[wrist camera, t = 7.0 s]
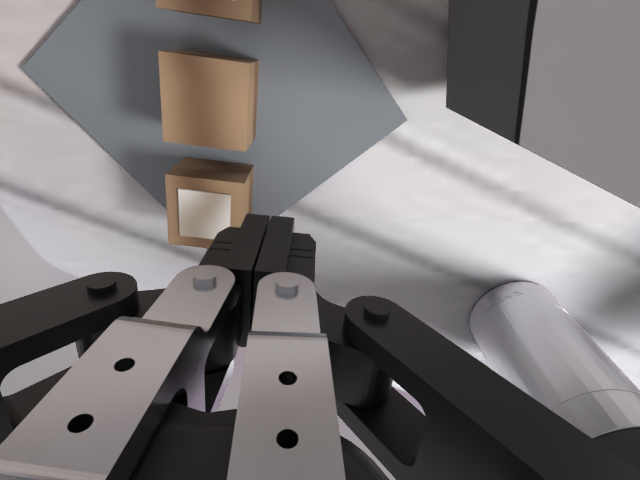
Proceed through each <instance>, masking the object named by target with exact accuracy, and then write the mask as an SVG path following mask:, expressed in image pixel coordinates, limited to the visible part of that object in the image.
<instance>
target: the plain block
mask: <svg viewBox="0 0 640 480" xmlns="http://www.w3.org/2000/svg"><path fill="white" fill-rule="evenodd" d="M158 57H159V75H160V93H161V111H162V129H163V142H171V143H179V144H187V145H195V146H203V147H211V148H219V149H227V150H235V151H243V152H246V151H247V149H248V148H249V146H250V145H251V143H252V141H253V140H254V138H255V135H256V116H257V97H258V77H259V60H255V59H248V58H241V57H234V56H226V55H219V54H212V53H205V52H198V51H191V50H183V49H178V50H163V51H158Z"/></svg>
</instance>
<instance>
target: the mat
mask: <svg viewBox="0 0 640 480" xmlns="http://www.w3.org/2000/svg"><path fill="white" fill-rule="evenodd" d="M178 49H183V50H191V51H198V52H205V53H212V54H219V55H226V56H234V57H241V58H248V59H255V60H259V77H258V97H257V116H256V135H255V138H254V140H253V141H252V143H251V145H250V146H249V148H248V149H247V151H246V152H243V151H235V150H227V149H219V148H211V147H203V146H195V145H187V144H179V143H171V142H163V129H162V111H161V93H160V75H159V57H158V51H163V50H178ZM22 70H23V71H24V72H25V73H26V74H27V75H28V76H29V77H30V78H31V79H32V80H33V81H35V82H36V83H37V84H38V85H39V86H40V87H41V88H42V89H43V90H44V91H45V92H46V93H47V94H48V95H49V96H50V97H51V98H52V99H53V100H54V101H55V102H56V103H57V104H58V105H59V106H60V107H61V108H62V109H63V110H64V111H66V112H67V113H68V114H69V115H70V116H71V117H72V118H73V119H74V120H75V121H76V122H77V123H78V124H79V125H80V126H81V127H82V128H83V129H84V130H85V131H86V132H87V133H88V134H89V135H90V136H91V137H92V138H93V139H94V140H95V141H97V142H98V143H99V144H100V145H101V146H102V147H103V148H104V149H105V150H106V151H107V152H108V153H109V154H110V155H111V156H112V157H113V158H114V159H115V160H116V161H117V162H118V163H119V164H120V165H121V166H122V167H123V168H124V169H125V170H126V171H127V172H129V173H130V174H131V175H132V176H133V177H134V178H135V179H136V180H137V181H138V182H139V183H140V184H141V185H142V186H143V187H144V188H145V189H146V190H147V191H148V192H149V193H150V194H151V195H152V196H153V197H154V198H155V199H156V200H157V201H158V202H160V203H161V204H162V205H163V206H164V207H165V208H166V209H167V202H166V184H165V174H166V173H167V172H168V171H169V170H170V169H172V168H173V167H174V166H175V165H176V164H177V163H178V162H180V161H181V160H182V159H183V158H184V157H191V158H200V159H208V160H216V161H224V162H232V163H240V164H249V165H254V173H253V193H252V212H251V214H259V215H269V216H270V219H271V216H278V215H280V214H281V213H282V212H284V211H285V210H286V209H288V208H289V207H290V206H292V205H293V204H295V203H296V202H297V201H299V200H300V199H301V198H303V197H304V196H305V195H307V194H308V193H309V192H311V191H312V190H313V189H315V188H316V187H318V186H319V185H320V184H322V183H323V182H324V181H326V180H327V179H328V178H330V177H331V176H332V175H334V174H335V173H336V172H338V171H339V170H341V169H342V168H343V167H345V166H346V165H347V164H349V163H350V162H351V161H353V160H354V159H355V158H357V157H358V156H359V155H361V154H362V153H364V152H365V151H366V150H368V149H369V148H370V147H372V146H373V145H374V144H376V143H377V142H378V141H380V140H381V139H382V138H384V137H385V136H387V135H388V134H389V133H391V132H392V131H393V130H395V129H396V128H397V127H399V126H400V125H401V124H403V123H404V122H405V121H407V119H406V117H405V116H404V114H403V113H402V111H401V110H400V108H399V106H398V105H397V103H396V102H395V100H394V99H393V97H392V96H391V94H390V93H389V91H388V90H387V88H386V86H385V85H384V83H383V82H382V80H381V79H380V77H379V76H378V74H377V73H376V71H375V70H374V68H373V66H372V65H371V63H370V62H369V60H368V59H367V57H366V56H365V54H364V53H363V51H362V50H361V48H360V46H359V45H358V43H357V42H356V40H355V39H354V37H353V36H352V34H351V33H350V31H349V30H348V28H347V26H346V25H345V23H344V22H343V20H342V19H341V17H340V16H339V14H338V13H337V11H336V10H335V8H334V6H333V5H332V3H331V2H330V0H262V20H261V24H257V23H250V22H243V21H236V20H229V19H223V18H216V17H209V16H202V15H195V14H188V13H181V12H176V11H171V10H166V9H161V8H157V7H156V3H155V0H81V1H80V2H79V3H78V4H77V5H76V7H75V8H74V9H73V10H72V11H71V12H70V13H69V15H68V16H67V17H66V18H65V19H64V20H63V21H62V23H61V24H60V25H59V26H58V27H57V28H56V30H55V31H54V32H53V33H52V34H51V35H50V36H49V38H48V39H47V40H46V41H45V42H44V43H43V44H42V46H41V47H40V48H39V49H38V50H37V51H36V53H35V54H34V55H33V56H32V57H31V58H30V59H29V61H28V62H27V63H26V64H25V65H24V66H23V67H22ZM207 249H209V248H207Z"/></svg>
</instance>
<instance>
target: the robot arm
mask: <svg viewBox="0 0 640 480" xmlns="http://www.w3.org/2000/svg"><path fill="white" fill-rule="evenodd" d="M315 249H316V242H315V241H314V239H313V238H312V237H311V236H310V234H301V233H294V218H290V217H280V216H271V219H270V216H269V215H259V214H249V213H247V214H246V216H245V218H244V220H243V222H242V225H241V227H240V228H239V227H227V228H225V229H224V230H222V231H220V232H218V233H217V235H216V237H215V238H214V240H213V242H212V244H211V245H210V247H209V249H208V250H207V252H206V254H205V255H204V257H203V259H202V261H201V262H200V264H199V266H194V267H190V268H188V269H185V270H183V271H181V272H180V273H179V274H178V275H177V276H176V277H175V278H174V279H173V281H172V282H171V283H170V284H169V285H168V287H167V288H165V289H157V290H146V291H138V289H137V282H136V280H135V279H134V278H133V277H132V276H130V275H128V274H125V273H120V272H102V273H96V274H92V275H88V276H85V277H82V278H79V279H76V280H73V281H70V282H67V283H64V284H61V285H58V286H55V287H52V288H48V289H45V290H42V291H39V292H36V293H33V294H30V295H27V296H24V297H21V298H18V299H15V300H12V301H9V302H6V303H3V304H0V385H1V382H2V380H3V379H4V377H5V376H6V375H7V374H8V373H9V372H10V371H12V370H13V369H15V368H16V367H18V366H20V365H23V364H25V363H27V362H30V361H32V360H34V359H36V358H39V357H41V356H43V355H46V354H48V353H50V352H52V351H55V350H57V349H59V348H62V347H64V346H66V345H68V344H70V343H73V342H76V347H77V352H78V357H79V360H78V361H77V362H76V363H75V364H74V365H73V366H71V367H69V368H67V369H65V370H63V371H61V372H59V373H56V374H54V375H52V376H50V377H48V378H46V379H44V380H42V381H40V382H38V383H35V384H34V385H31V386H29V387H27V388H25V389H23V390H21V391H19V392H17V393H14V394H12V395H9V396H5V397H2V395H1V392H0V480H389V479H388V478H387V476H386V475H385V474H384V473H383V471H381V469H380V468H379V467H378V466H377V465H376V463H375V462H374V461H373V460H372V459H371V458H370V457H369V456H368V455H366V453H365V452H363V451H362V450H361V449H360V448H358V447H357V446H356V445H354V444H353V443H352V442H350V441H348V440H347V439H345V438H344V437H342V436H340V432H339V424H338V417H337V415H338V416H339V417H340V418H341V419H342V420H343V421H344V422H345V424H346V425H347V426H348V427H349V428H350V429H351V430H352V431H353V432H354V433H355V435H356V436H357V437H358V438H359V439H360V440H361V441H362V442H363V443H364V444H365V446H366V447H367V448H368V449H369V450H370V451H371V452H372V453H373V454H374V456H375V457H376V458H377V459H378V460H379V461H380V462H381V463H382V464H383V465H384V467H386V469H387V470H388V471H389V472H390V473H391V474H392V475H393V476H394V478H395V479H396V480H640V390H639V389H638V388H637V387H636V386H635V385H634V384H633V383H632V382H631V381H630V379H629V378H628V377H627V376H626V375H625V374H624V373H623V372H622V371H621V370H620V369H619V368H618V366H617V365H616V364H615V363H614V362H613V361H612V360H611V359H610V358H609V357H608V356H607V354H606V353H605V352H604V351H603V350H602V349H601V348H600V347H599V346H598V345H597V344H596V342H595V341H594V340H593V339H592V338H591V337H590V336H589V335H588V334H587V333H586V332H585V331H584V329H583V328H582V327H581V326H580V325H579V324H578V323H577V322H576V321H575V320H574V319H573V317H572V316H571V315H570V314H569V313H568V312H567V311H566V310H565V309H564V307H563V306H562V305H561V304H560V303H559V302H558V301H557V300H556V299H555V298H554V297H553V296H552V294H551V293H550V292H549V291H548V290H546V289H545V288H544V287H542V286H540V285H538V284H535V283H531V282H521V281H520V282H511V283H508V284H504V285H501V286H499V287H497V288H495V289H493V290H491V291H490V292H488V293H487V294H485V295H484V296H483V297H482V298H481V299H480V300H479V301H478V302H477V304H476V305H475V306H474V308H473V310H472V312H471V315H470V321H469V324H470V330H471V332H472V335H473V336H474V338H475V340H476V342H477V344H478V346H479V348H480V350H481V352H482V354H483V355H484V358H485V360H486V361H487V363H488V365H489V367H490V368H489V367H487V366H486V365H484V364H483V363H482V362H480V361H479V360H477V359H476V358H474V357H473V356H471V355H470V354H468V353H467V352H465V351H464V350H463V349H461V348H460V347H458V346H457V345H455V344H454V343H452V342H451V341H449V340H448V339H447V338H445V337H444V336H442V335H441V334H439V333H438V332H436V331H435V330H433V329H432V328H431V327H429V326H428V325H426V324H425V323H423V322H422V321H420V320H419V319H417V318H416V317H414V316H413V315H412V314H410V313H409V312H407V311H406V310H404V309H403V308H401V307H400V306H398V305H397V304H395V303H394V302H392V301H390V300H387V299H384V298H381V297H376V296H361V297H357V298H354V299H352V300H351V301H349V303H348V304H347V306H346V308H345V307H342V306H338V305H335V304H332V303H330V302H328V301H326V300H325V299H323V298H322V297H321V296H320V295H319V294H318V293H317V292H316V288H315V285H314V278H315ZM238 346H240V347H246V353H245V360H244V366H243V373H242V381H241V387H240V393H239V400H238V407H237V409H233V410H225V411H218V409H219V406H220V403H221V401H222V398H223V396H224V393H225V391H226V388H227V386H228V383H229V380H230V378H231V375H232V373H233V370H234V357H235V355H236V353H237V349H238ZM393 380H394V381H395V382H396V383H397V384H399V385H400V386H401V387H402V388H403V389H404V390H405V391H407V392H408V393H409V394H410V395H411V396H412V397H414V398H415V399H416V400H417V401H418V402H419V404H420V405H421V406H422V408H423V410H424V412H425V415H426V416H425V415H423V414H422V413H421V412H420V411H419V410H418V409H417V408H416V407H414V406H413V405H412V404H411V403H410V402H409V401H408V400H407V399H405V398H404V397H403V396H402V395H401V394H400V393H399V392H398V391H396V390H395V389H394V388H393V387H392V386H391V385H392V381H393Z"/></svg>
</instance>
